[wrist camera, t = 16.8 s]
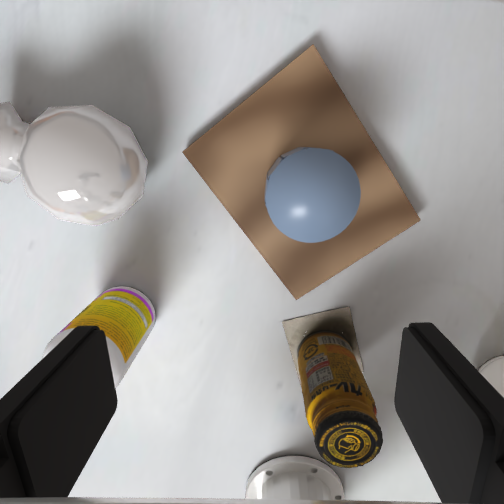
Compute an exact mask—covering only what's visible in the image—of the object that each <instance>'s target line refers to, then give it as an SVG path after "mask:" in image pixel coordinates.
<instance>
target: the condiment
mask: <svg viewBox="0 0 504 504" xmlns="http://www.w3.org/2000/svg"><path fill="white" fill-rule="evenodd" d="M282 323H283V327H284V330H285V334H286V337H287V340H288V344H289V347H290V351H291V354H292V357H293V361H294V364H295V368H296V371H297V374H298V378H299V381H300V385H301V387H302V393H303V398H304V404H305V412H306V418H307V421H308V424H309V426H310V428H311V429H312V430H313V434H314V437H315V444H316V447H317V450H318V452H319V454H320V455H321V457H323V458H324V459H325V460H326V461H327V462H328V463H330V464H332V465H335V466H338V467H345V468H352V467H358V466H363V465H364V464H366V463H368V462H370V461H372V460H373V459H374V458H375V457H376V455H377V454H378V453H379V452H380V449H381V446H382V443H383V439H382V431H381V428H380V426H379V425H378V421H377V418H376V413H377V411H376V406H375V402H374V399H373V397H372V395H371V393H370V390H369V388H368V386H367V384H366V381H365V379H364V376H363V374H362V372H364V371H363V366H362V362H361V357H360V353H359V348H358V344H357V339H356V334H355V330H354V326H353V321H352V316H351V312H350V307H345V308H339V309H335V310H330V311H325V312H321V313H317V314H312V315H307V316H304V317H300V318H295V319H292V320H288V321H284V322H282ZM306 331H307V333H305V332H306ZM342 332H343V333H342ZM304 335H305V336H304Z"/></svg>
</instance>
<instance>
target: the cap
mask: <svg viewBox="0 0 504 504" xmlns="http://www.w3.org/2000/svg"><path fill="white" fill-rule="evenodd" d="M280 156H281V158H280V157H278V159H277V160H276V161H275V163H274V164H273V165H272V167H271V168H270V170H269V171H268V172H267V173H268V174H267V176H266V185H265V205H266V207H267V210H268V213H269V216H270V218H271V220H272V222H273V224H274V225H275V226H276V227H277V228H278V229H279V230H280V231H281V232H282V233H283V234H284V235H286V236H288V237H289V238H292V239H294V240H297V241H300V242H305V243H316V242H322V241H325V240H328V239H331V238H333V237H335V236H336V235H338V234H340V233H341V232H342V231H343V230H345V229H346V227H347V226H348V225H349V224H350V223H351V221H352V220H353V218H354V217H355V215H356V213H357V210H358V207H359V204H360V198H361V189H360V183H359V179H358V176H357V174H356V172H355V170H354V168H353V167H352V166H351V164H350V163H349V162H348V161H347V160H346V159H345V158H343V157H342V156H341V155H339V154H337V153H335V152H334V151H333V150H329V149H321V148H311V147H298V148H295V149H293V150H291V151H289V152H287V153H285V154H282V155H280Z"/></svg>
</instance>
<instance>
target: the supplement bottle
mask: <svg viewBox="0 0 504 504" xmlns="http://www.w3.org/2000/svg"><path fill="white" fill-rule="evenodd" d="M154 324H155V310H154V307H153V305H152V303H151V302H150V300H149V299H148V298H147V297H146V296H145V295H144V294H143V293H141V292H140V291H138V290H136V289H134V288H130V287H124V286H119V287H113V288H110V289H108V290H106V291H104V292H103V293H102V294H101V295H99V296H98V297H97V298H96V299H95V300H94V301H93V302H92V303H91V304H90V305H88V306H87V307H86V308H85V309H84V310H83V311H82V312H81V313H80V314H79V315H78V316H76V317H75V318H74V319H73V320H72V321H71V322H70V323H69V324H68V325H67V326H66V327H65V328H64V329H63V330H61V331H60V332H59V333H58V334H57V335H56V336H55V337H54V338H53V339H52V340H51V341H50V342H49V343H48V345H47V346H46V348H45V350H44V352H43V356H42V359H43V358H44V357H45V356H46V355H47V354H48V353H49V352H50V351H51V350H52V349H53V348H55V347H56V346H57V345H58V344H59V343H60V342H61V341H62V340H63V339H64V338H65V337H66V336H67V335H68V334H69V333H70V332H71V331H72V330H73V329H74V328H75V327H77V326H98V327H99V328H100V330H103V331H104V332H105V335H106V341H107V346H108V352H109V357H110V363H111V368H112V373H113V379H114V384H115V389H116V387H117V386H118V385H119V383H120V382H121V380H122V379H123V377H124V375H125V374H126V372H127V370H128V369H129V367H130V365H131V364H132V362H133V360H134V359H135V357H136V355H137V354H138V352H139V351H140V349H141V347H142V346H143V344H144V342H145V341H146V339H147V338H148V336H149V334H150V332H151V331H152V329H153V327H154Z"/></svg>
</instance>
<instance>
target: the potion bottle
mask: <svg viewBox="0 0 504 504" xmlns="http://www.w3.org/2000/svg"><path fill="white" fill-rule="evenodd" d="M147 165H148V161H147V159H146V157H145V155H144V153H143V151H142V149H141V147H140V145H139V143H138V141H137V140H136V138H135V136H134V134H133V132H132V130H131V128H130V127H129V126H128V125H126V124H124V123H123V122H121V121H119V120H117V119H116V118H114V117H112V116H111V115H109V114H107V113H105V112H104V111H102V110H100V109H99V108H97V107H95V106H93V105H78V106H61V107H49V108H48V109H46V110H45V111H44V112H43V113H42V114H41V115H40V116H39V117H38V118H36V119H35V120H34V121H33V122H32V123H31V124H29V123H26V122H22V120H21V119H20V117H19V115H18V114H17V112H16V111H15V109H14V107H13V106H12V104H11V102H10V101H9V102H5V103H0V181H1V182H4V183H8V184H9V183H10V182H11V181H13V180H14V179H15V178H16V177H17V176H19V175H20V174H21V177H22V181H23V184H24V187H25V191H26V194H27V196H28V197H29V198H30V199H32V200H33V201H34V202H36V203H37V204H38V205H40V206H41V207H42V208H44V209H45V210H46V211H48V212H49V213H51V214H52V215H53V216H55V217H56V218H57V219H59V220H62V221H68V222H73V223H78V224H84V225H93V226H98V225H101V224H104V223H108V222H111V221H114V220H117V219H119V218H120V217H121V216H122V215H123V214H124V213H126V212H127V211H128V210H129V209H130V208H131V207H132V206H133V205H134V204H135V203H136V202H137V201H138V200H139V199H140V198H141V197H143V194H144V187H145V180H146V172H147Z"/></svg>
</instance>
